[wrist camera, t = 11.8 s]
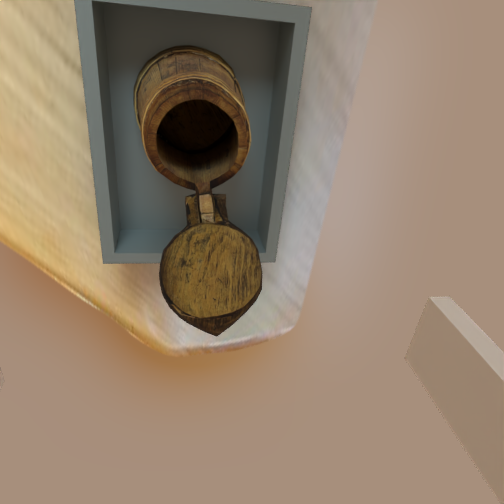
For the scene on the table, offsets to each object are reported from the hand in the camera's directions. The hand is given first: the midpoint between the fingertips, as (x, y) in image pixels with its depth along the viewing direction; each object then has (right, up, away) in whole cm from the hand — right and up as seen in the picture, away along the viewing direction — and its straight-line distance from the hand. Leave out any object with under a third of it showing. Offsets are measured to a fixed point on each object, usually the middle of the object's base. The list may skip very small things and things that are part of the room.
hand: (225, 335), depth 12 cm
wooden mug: (-4, +13, +22) cm, 26 cm away
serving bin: (-4, +13, +23) cm, 26 cm away
